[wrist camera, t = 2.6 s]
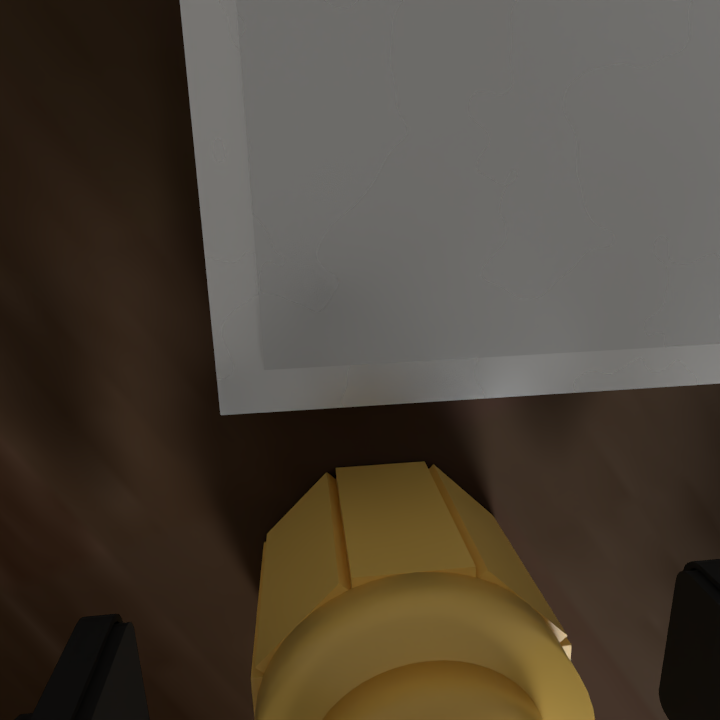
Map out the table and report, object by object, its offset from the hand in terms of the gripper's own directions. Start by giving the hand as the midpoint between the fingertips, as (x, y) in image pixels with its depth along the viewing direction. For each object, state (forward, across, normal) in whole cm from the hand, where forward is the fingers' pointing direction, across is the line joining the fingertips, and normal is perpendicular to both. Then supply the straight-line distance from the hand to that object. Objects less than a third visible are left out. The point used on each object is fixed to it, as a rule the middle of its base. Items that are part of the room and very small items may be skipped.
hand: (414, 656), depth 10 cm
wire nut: (+4, 0, +1) cm, 4 cm away
